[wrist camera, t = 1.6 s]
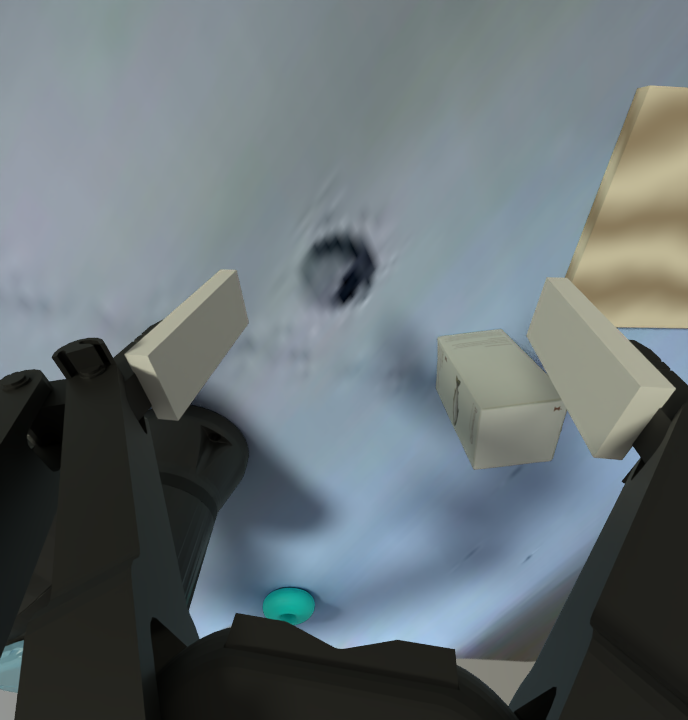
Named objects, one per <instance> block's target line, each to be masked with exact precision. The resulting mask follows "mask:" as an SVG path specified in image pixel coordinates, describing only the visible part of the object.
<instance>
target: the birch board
mask: <svg viewBox="0 0 688 720" xmlns="http://www.w3.org/2000/svg"><path fill="white" fill-rule="evenodd" d="M565 278H568V279H569V280H570V281H571V282H572V283H573V284H574V285H575V286H576V287H577V288H578V289H579V290H580V291H581V292H582V293H583V294H584V295H585V296H586V297H587V298H588V300H589V301H590V302H591V303H592V304H593V305H594V306H595V307H596V308H597V309H598V310H599V311H600V312H601V313H602V314H603V315H604V316H605V317H606V318H607V319H608V320H609V321H610V322H611V323H612V324H613V325H614V326H615V327H637V328H688V88H683V87H665V86H646V87H642V88H638V89H637V91H636V94H635V96H634V99H633V101H632V104H631V107H630V109H629V112H628V115H627V117H626V120H625V122H624V125H623V128H622V130H621V133H620V135H619V138H618V141H617V143H616V146H615V148H614V151H613V154H612V156H611V159H610V161H609V164H608V167H607V169H606V172H605V175H604V177H603V180H602V182H601V185H600V188H599V190H598V193H597V195H596V198H595V201H594V203H593V206H592V208H591V211H590V214H589V216H588V219H587V221H586V224H585V227H584V229H583V232H582V235H581V237H580V240H579V242H578V245H577V248H576V250H575V253H574V255H573V258H572V261H571V263H570V266H569V268H568V271H567V274H566V276H565Z"/></svg>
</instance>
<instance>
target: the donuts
mask: <svg viewBox="0 0 688 720" xmlns="http://www.w3.org/2000/svg"><path fill="white" fill-rule="evenodd" d="M314 608H315V602H314V599H313V597H312V596H311V595H310V594H309V593H308V592H306V591H304V590H302V589H298V588H282V589H278V590H275V591H273V592H271V593H270V594H269V595H268V596H267V597H266V598H265V600H264V602H263V613H264V615H265V616H266V618H269V619H275V620H281V621H286V622H288V623H290V624H292V625H297V624H300V623H303V622H304V621H306V620H307V619H309V618H310V617H311V615H312V614H313V612H314Z"/></svg>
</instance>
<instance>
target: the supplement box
mask: <svg viewBox="0 0 688 720" xmlns="http://www.w3.org/2000/svg"><path fill="white" fill-rule="evenodd" d="M437 340H438V361H437V380H436V390H437V392H438V394H439V396H440V399H441V401H442V403H443V405H444V407H445V409H446V412H447V414H448V416H449V418H450V420H451V422H452V425H453V427H454V429H455V431H456V433H457V435H458V437H459V439H460V441H461V443H462V445H463V448H464V450H465V452H466V454H467V457H468V458H469V461H470V463H471V465H472V467H473V469H474V470H476V469H486V468H494V467H503V466H512V465H519V464H527V463H535V462H546V461H551V460H552V459H553V456H554V452H555V448H556V445H557V442H558V439H559V435H560V432H561V430H562V425H563V422H564V419H565V415H566V412H567V409H566V407H565V405H564V403H563V401H562V399H561V398H560V396H559V394H558V392H557V390H556V389H555V387H554V385H553V383H552V381H551V379H550V378H549V376H548V375H547V374H546V373H545V372H544V371H543V370H542V369H541V368H540V367H539V366H538V365H537V364H536V363H535V362H534V361H533V360H532V359H531V358H530V357H529V356H528V355H527V354H526V353H525V352H524V351H523V350H522V349H521V348H520V347H519V346H518V345H517V344H516V343H515V342H514V341H513V340H512V339H511V338H510V337H509V336H508V335H507V334H506V333H505V332H504V331H503V330H502V329H498V330H489V331H481V332H472V333H464V334H455V335H447V336H441V337H438V339H437Z"/></svg>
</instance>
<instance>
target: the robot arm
mask: <svg viewBox="0 0 688 720" xmlns="http://www.w3.org/2000/svg"><path fill="white" fill-rule="evenodd" d="M248 323H249V321H248V317H247V313H246V308H245V304H244V300H243V295H242V291H241V287H240V283H239V278H238V274H237V270H220V271H218V272H217V273H216V274H215V275H214V276H213V277H212V278H210V279H209V280H208V281H207V282H206V283H205V284H204V285H202V286H201V287H200V288H199V289H198V290H197V291H196V292H195V293H193V294H192V295H191V296H190V297H189V298H188V299H187V300H185V301H184V302H183V303H182V304H181V305H180V306H179V307H177V308H176V309H175V310H174V311H173V312H172V313H171V314H169V315H168V316H167V317H166V318H165V319H164V320H161V321H159V322H157V323H156V324H154V325H152V326H150V327H149V328H148V329H147V330H145V331H144V332H143V333H142V335H140V336H138V337H137V338H136V339H135V340H134V342H131V343H130V344H129V345H128V346H127V347H126V348H124V349H123V350H122V351H121V352H120V353H119V354H117V355H116V356H115V357H114V358H113V357H112V355H111V353H110V352H109V350H108V348H107V346H106V344H105V343H104V341H103V340H102V339H99V338H86V339H80V340H77V341H74V342H71V343H69V344H67V345H65V346H63V347H61V348H60V349H58V350H57V351H56V352H55V353H54V354H53V356H52V359H53V360H54V362H55V363H56V364H57V366H58V367H59V369H60V370H61V372H62V373H63V375H64V376H65V377H66V379H63V380H56V381H48V379H47V378H46V377H45V375H44V374H43V373H42V372H41V371H40V370H35V369H33V370H24V371H21V372H15V373H12V374H11V375H10V374H9V375H7V376H5V377H4V378H3V379H1V380H0V689H2V690H5V691H9V692H16V693H18V694H17V703H16V711H15V719H14V720H688V385H687V384H686V383H685V382H684V381H683V380H682V379H681V378H680V377H679V376H678V375H677V374H675V373H674V372H673V371H670V368H669V367H668V366H667V365H666V364H665V363H664V362H661V359H660V358H659V357H658V356H657V355H656V354H655V353H654V352H653V351H652V350H651V349H649V348H647V347H645V346H644V345H642V344H640V343H638V342H637V341H635V340H628V339H627V338H626V337H625V336H624V335H623V334H622V333H621V332H620V331H619V330H618V329H617V328H616V327H615V326H614V325H613V324H612V323H611V322H610V321H609V320H608V319H607V318H606V317H605V316H604V315H603V314H602V313H601V312H600V311H599V310H598V309H597V308H596V307H595V306H594V305H593V304H592V303H591V302H590V301H589V300H588V298H587V297H586V296H585V295H584V294H583V293H582V292H581V291H580V290H579V289H578V288H577V287H576V286H575V285H574V284H573V283H572V282H571V281H570V280H569V279H568V278H546V281H545V284H544V287H543V290H542V293H541V295H540V298H539V301H538V304H537V307H536V310H535V313H534V315H533V318H532V321H531V324H530V327H529V330H528V333H527V335H526V336H527V338H528V339H529V341H530V343H531V345H532V347H533V348H534V350H535V352H536V354H537V356H538V358H539V359H540V361H541V363H542V365H543V367H544V369H545V370H546V372H547V374H548V376H549V378H550V379H551V381H552V383H553V385H554V387H555V389H556V390H557V392H558V394H559V396H560V398H561V399H562V401H563V403H564V405H565V407H566V409H567V410H568V412H569V414H570V416H571V418H572V419H573V421H574V423H575V425H576V427H577V429H578V430H579V432H580V434H581V436H582V438H583V439H584V441H585V443H586V445H587V447H588V449H589V450H590V452H591V454H592V456H593V458H605V459H616V460H623V458H624V457H625V456H626V454H627V453H628V452H629V450H630V449H631V448H632V446H633V447H634V448H635V450H636V451H637V453H638V454H639V455H640V457H641V458H640V459H639V460H638V462H637V463H636V464H635V465H634V467H633V468H632V469H631V470H630V472H629V473H628V474H627V475H626V477H625V478H624V479H623V480H622V482H623V483H625V485H624V487H623V489H622V491H621V493H620V495H619V497H618V499H617V501H616V503H615V505H614V507H613V509H612V511H611V513H610V515H609V517H608V519H607V521H606V523H605V525H604V527H603V529H602V531H601V533H600V535H599V537H598V539H597V541H596V543H595V545H594V547H593V549H592V551H591V553H590V555H589V557H588V559H587V561H586V563H585V565H584V567H583V569H582V571H581V573H580V575H579V577H578V579H577V581H576V583H575V585H574V587H573V589H572V591H571V593H570V595H569V597H568V599H567V601H566V603H565V605H564V607H563V609H562V611H561V613H560V615H559V617H558V619H557V621H556V623H555V625H554V627H553V629H552V631H551V633H550V635H549V637H548V639H547V641H546V643H545V645H544V647H543V649H542V651H541V653H540V655H539V657H538V659H537V660H536V662H535V664H534V666H533V668H532V669H531V671H530V673H529V674H528V675H527V677H526V678H525V679H524V681H523V682H522V684H521V685H520V687H519V688H518V690H517V692H516V693H515V695H514V697H513V699H512V700H511V702H510V704H509V706H507V704H506V703H505V702H504V701H503V700H502V699H501V698H500V697H499V696H498V695H497V694H496V693H495V692H494V691H493V690H492V689H491V688H489V687H488V686H487V685H486V684H485V683H484V682H482V681H481V680H480V679H479V678H477V677H476V676H474V675H473V674H471V673H470V672H468V671H467V670H466V669H463V668H462V667H460V666H458V665H456V655H455V649H450V648H444V647H438V646H432V645H426V644H419V643H413V642H407V641H401V640H394V641H388V642H382V643H376V644H370V645H364V646H358V647H352V648H347V649H337V648H334V647H332V646H330V645H329V644H327V643H325V642H323V641H321V640H319V639H318V638H316V637H314V636H312V635H310V634H308V633H306V632H305V631H303V630H301V629H299V628H297V627H295V626H294V625H292V624H290V623H288V622H286V621H281V620H275V619H269V618H263V617H257V616H251V615H245V614H239V613H236V614H235V617H234V620H233V623H232V626H231V628H226V629H223V630H220V631H217V632H214V633H212V634H210V635H207V636H205V637H203V638H201V639H199V636H198V633H197V630H196V627H195V625H194V623H193V620H192V618H191V616H190V613H189V608H190V604H191V601H192V598H193V594H194V591H195V588H196V584H197V581H198V577H199V574H200V571H201V567H202V564H203V560H204V557H205V554H206V550H207V547H208V544H209V540H210V537H211V533H212V530H213V526H214V523H215V520H216V517H217V514H218V512H219V510H220V509H221V508H222V506H223V505H224V503H225V502H226V501H227V499H228V498H229V497H230V495H231V494H232V492H233V491H234V490H235V488H236V487H237V485H238V484H239V483H240V481H241V480H242V477H243V475H244V473H245V469H246V466H247V462H248V457H249V450H248V445H247V442H246V440H245V438H244V436H243V435H242V433H241V432H240V431H239V430H238V429H237V427H236V426H234V425H233V424H232V423H231V422H230V421H228V420H227V419H225V418H224V417H222V416H221V415H219V414H217V413H215V412H212V411H210V410H207V409H204V408H201V407H196V406H191V405H190V404H191V403H192V401H193V400H194V398H195V397H196V396H197V394H198V393H199V391H200V390H201V389H202V387H203V386H204V384H205V383H206V382H207V380H208V379H209V378H210V376H211V375H212V373H213V372H214V371H215V369H216V368H217V366H218V365H219V364H220V362H221V361H222V359H223V358H224V357H225V355H226V354H227V353H228V351H229V350H230V348H231V347H232V346H233V344H234V343H235V341H236V340H237V339H238V337H239V336H240V335H241V333H242V332H243V330H244V329H245V328H246V326H247V325H248ZM151 407H152V409H150V408H151ZM149 409H150V410H149Z"/></svg>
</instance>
